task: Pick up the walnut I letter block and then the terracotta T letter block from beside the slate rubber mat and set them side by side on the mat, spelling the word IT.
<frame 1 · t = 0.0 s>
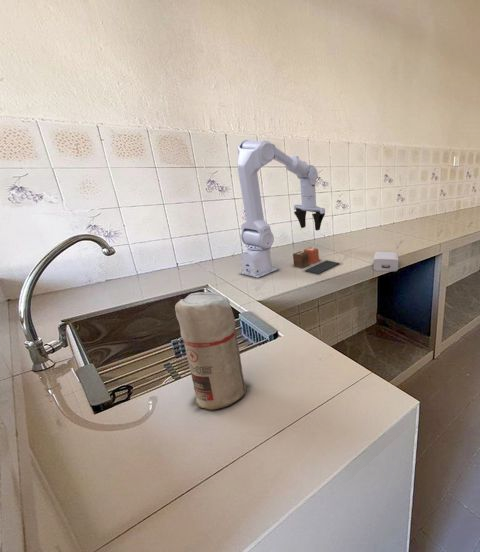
hand: (310, 228, 140), 10 cm above the counter, tool pointing down, fingers open, 7 cm apart
charger: (386, 265, 132), on the counter
word mat: (322, 267, 126), on the counter
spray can: (221, 395, 61), on the counter
tile I: (301, 265, 127), on the counter
tile T: (311, 261, 132), on the counter
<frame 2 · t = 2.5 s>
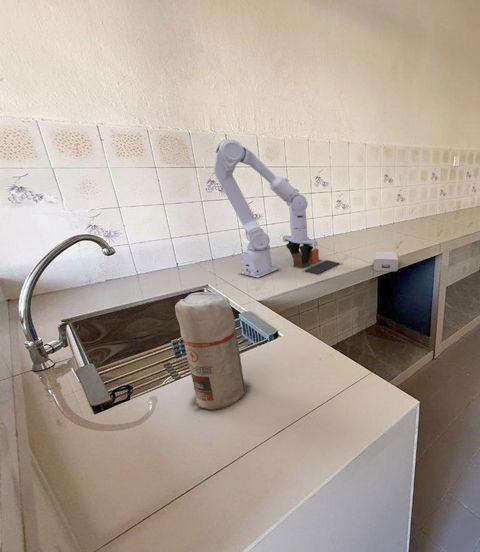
hand: (301, 262, 126), 1 cm above the counter, tool pointing down, fingers closed on tile I, 4 cm apart
tile I: (301, 265, 127), on the counter, touching gripper
everything else where it was.
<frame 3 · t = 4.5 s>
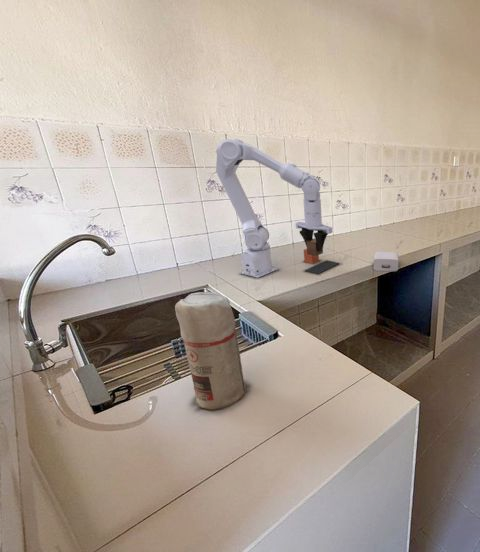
hand: (315, 250, 121), 8 cm above the counter, tool pointing down, fingers closed on tile I, 4 cm apart
tile I: (315, 253, 121), point 6 cm above the counter, touching gripper
everything else where it was.
when the fingers open (2 cm above the counter, at t = 6.4 s): tile I stays where it is, resting on word mat.
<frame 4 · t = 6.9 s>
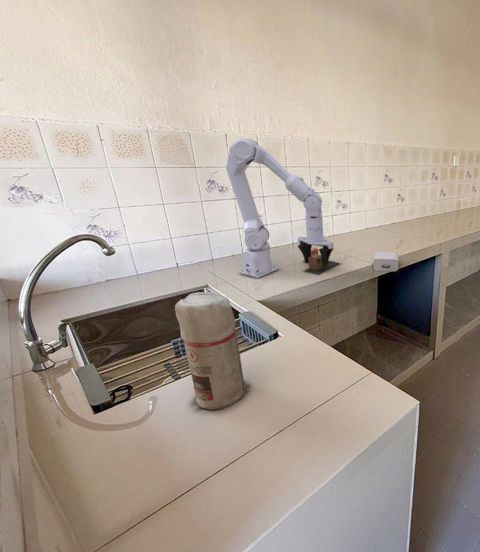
hand: (316, 264, 122), 2 cm above the counter, tool pointing down, fingers open, 7 cm apart
tile I: (316, 269, 123), resting on word mat
everything else where it was.
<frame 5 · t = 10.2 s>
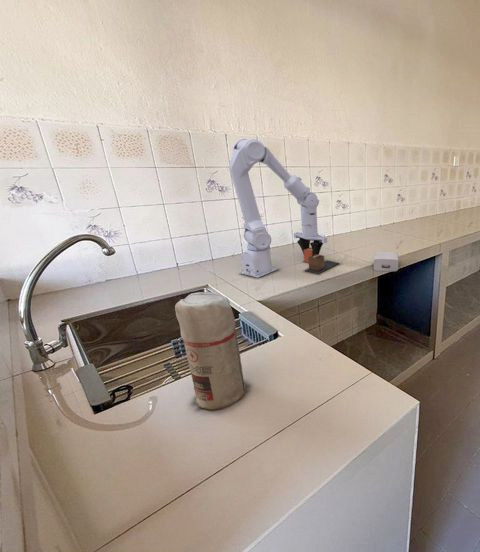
hand: (311, 257, 132), 1 cm above the counter, tool pointing down, fingers closed on tile T, 4 cm apart
tile T: (311, 261, 132), on the counter, touching gripper
everything else where it was.
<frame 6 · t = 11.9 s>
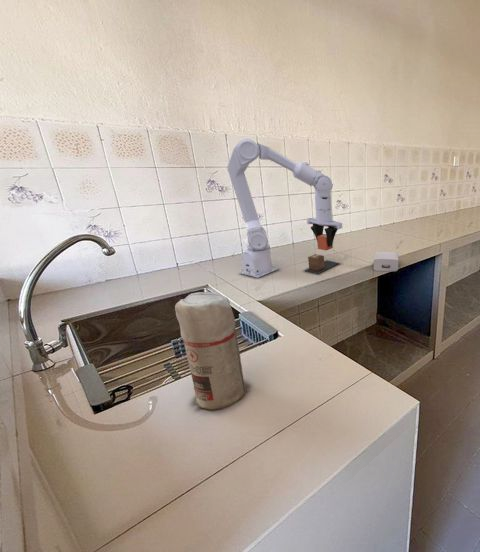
hand: (325, 245, 126), 8 cm above the counter, tool pointing down, fingers closed on tile T, 4 cm apart
tile T: (325, 248, 127), point 7 cm above the counter, touching gripper
everything else where it was.
when the fingers open (2 cm above the counter, at t = 13.8 s): tile T stays where it is, resting on word mat.
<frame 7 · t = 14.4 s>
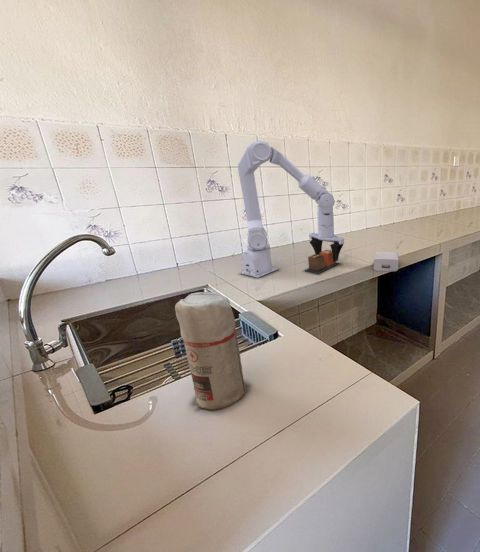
hand: (327, 259, 128), 2 cm above the counter, tool pointing down, fingers open, 7 cm apart
tile T: (327, 264, 129), resting on word mat
everything else where it was.
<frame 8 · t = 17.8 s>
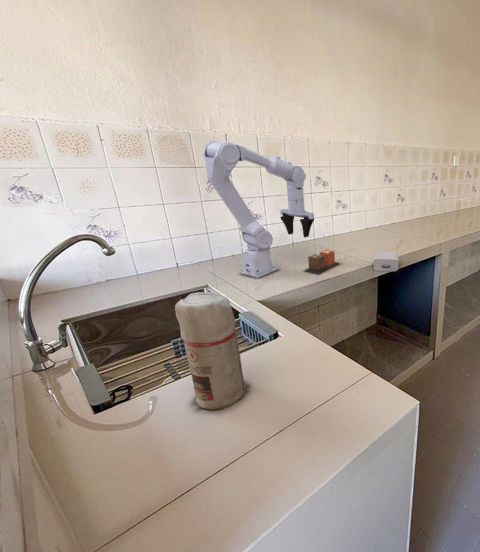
hand: (298, 235, 128), 10 cm above the counter, tool pointing down, fingers open, 7 cm apart
nothing on the counter moved.
at the end: tile I 0.1 cm from the target spot, resting on word mat; tile T 0.0 cm from the target spot, resting on word mat; tile T tilted 0° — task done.
